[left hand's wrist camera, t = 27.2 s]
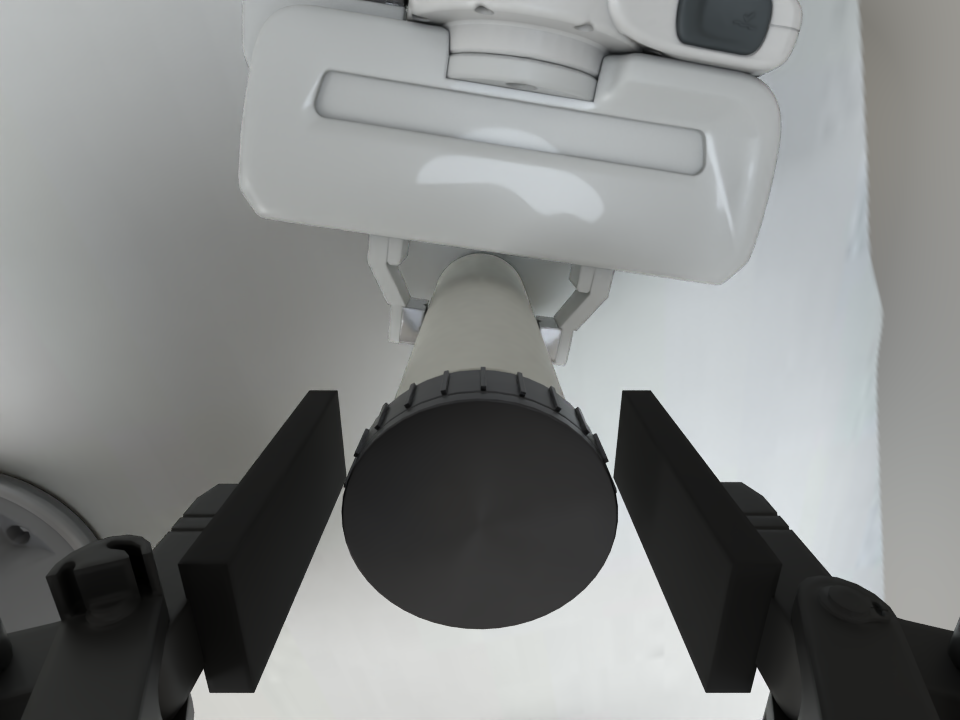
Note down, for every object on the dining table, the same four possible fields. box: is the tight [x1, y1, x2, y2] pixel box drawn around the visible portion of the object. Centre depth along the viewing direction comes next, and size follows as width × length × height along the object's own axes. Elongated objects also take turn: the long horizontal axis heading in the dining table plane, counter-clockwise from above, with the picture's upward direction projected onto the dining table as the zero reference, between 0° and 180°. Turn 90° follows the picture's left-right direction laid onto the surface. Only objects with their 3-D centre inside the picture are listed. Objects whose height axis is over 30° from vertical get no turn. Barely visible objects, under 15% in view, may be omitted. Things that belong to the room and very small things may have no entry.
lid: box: [342, 367, 618, 629], centre depth 12 cm, size 6×6×2 cm
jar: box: [394, 253, 565, 400], centre depth 21 cm, size 5×5×18 cm
